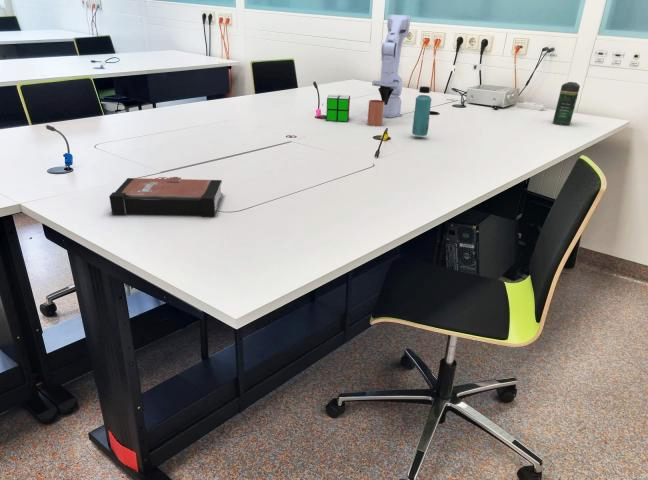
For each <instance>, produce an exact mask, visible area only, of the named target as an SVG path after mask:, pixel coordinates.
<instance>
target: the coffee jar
mask: <svg viewBox="0 0 648 480" xmlns="http://www.w3.org/2000/svg"><path fill="white" fill-rule="evenodd" d="M580 87H581V86H580V84H578V82H574V81H568V82H565V83H563V84H562V85H561V88H560V91H559V95H558V99H557V103H556V108H555V112H554V115H553V121H552V123H553V124H556V125H559V126H563V125H564V126H568V125H569V124H571V122H572V120H573V115H574V111H575V107H576V104H577V101H578V97H579V92H580Z"/></svg>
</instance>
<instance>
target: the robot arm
mask: <svg viewBox="0 0 648 480" xmlns="http://www.w3.org/2000/svg"><path fill="white" fill-rule="evenodd" d="M386 23H387V25H386V26H387V35H386V37H385V41H384V42H383V43H382V44H381V48H380V49H381V51H380V52H381V53H380V55H381V58H380V59H381V60H380V61H381V68H380V80H372V83H371V85H372V86H373V87H378V89H377V90H378V92H379V95H380V100H382V101H384V113H383V118H384V117H385V118H391V119H392V118H395V117H400V116H402V114H401V109H402V99H401V97H400V96H401V95H402V90H403V79H402V77H401V76H400V75H399V74H398V73H399V67H400V59H401V52H402V45H403V42H404V40H405V38H407V37H408V35H409V32H410V25H411V16H410V14H391V13H390V14H389V15H388V16H387V22H386Z"/></svg>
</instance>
